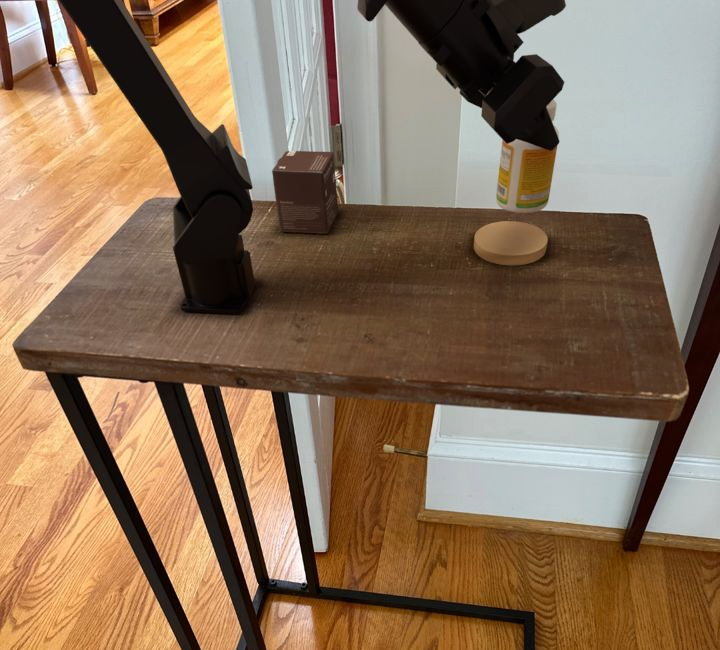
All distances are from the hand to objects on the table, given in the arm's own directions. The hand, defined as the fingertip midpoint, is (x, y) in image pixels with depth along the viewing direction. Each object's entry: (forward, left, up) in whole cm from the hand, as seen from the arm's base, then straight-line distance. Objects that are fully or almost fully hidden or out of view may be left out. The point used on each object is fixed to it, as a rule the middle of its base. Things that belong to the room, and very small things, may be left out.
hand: (543, 135), depth 67 cm
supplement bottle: (-1, 0, -7) cm, 7 cm away
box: (-26, +5, -12) cm, 29 cm away
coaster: (-2, +1, -12) cm, 12 cm away
